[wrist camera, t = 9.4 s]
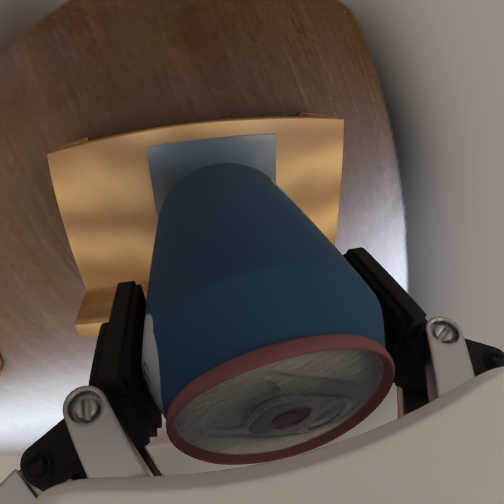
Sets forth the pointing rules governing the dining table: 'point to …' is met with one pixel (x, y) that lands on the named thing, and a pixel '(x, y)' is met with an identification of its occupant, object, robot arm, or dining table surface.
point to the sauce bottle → (1, 365)
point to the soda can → (256, 324)
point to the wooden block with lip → (167, 176)
